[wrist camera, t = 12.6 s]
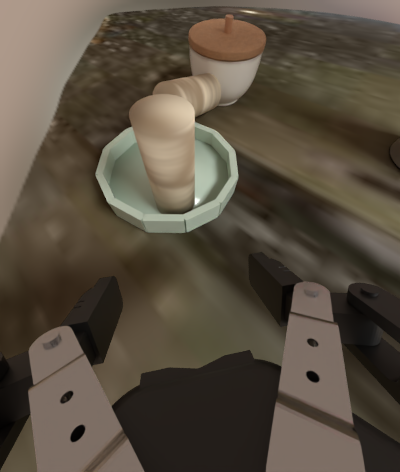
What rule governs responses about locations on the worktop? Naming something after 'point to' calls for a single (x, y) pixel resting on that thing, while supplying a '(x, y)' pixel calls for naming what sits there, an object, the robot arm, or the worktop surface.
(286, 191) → the worktop surface
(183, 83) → the beige banded cylinder
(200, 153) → the ring dish
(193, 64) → the lidded jar
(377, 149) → the worktop surface
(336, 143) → the worktop surface
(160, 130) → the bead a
